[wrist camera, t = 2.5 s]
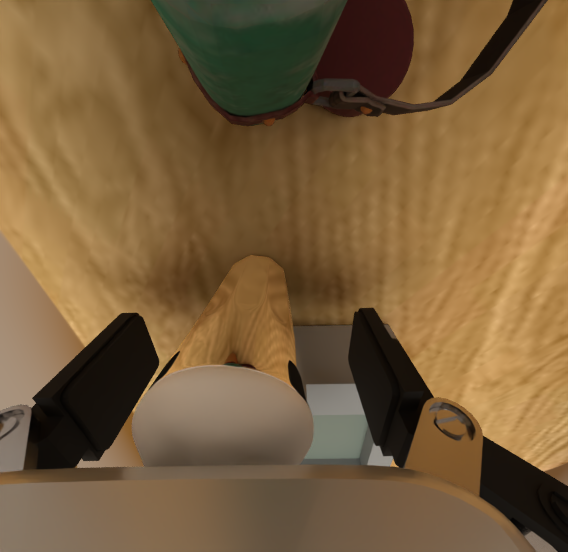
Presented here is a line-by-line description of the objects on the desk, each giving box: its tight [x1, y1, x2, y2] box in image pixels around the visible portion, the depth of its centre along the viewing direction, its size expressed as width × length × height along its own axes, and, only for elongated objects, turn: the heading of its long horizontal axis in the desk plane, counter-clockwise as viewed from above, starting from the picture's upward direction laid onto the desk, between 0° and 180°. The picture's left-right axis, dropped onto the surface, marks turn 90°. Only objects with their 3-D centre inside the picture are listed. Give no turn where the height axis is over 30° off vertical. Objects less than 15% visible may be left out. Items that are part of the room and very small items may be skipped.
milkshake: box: [132, 255, 314, 467], centre depth 9 cm, size 4×5×10 cm
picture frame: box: [293, 324, 398, 466], centre depth 16 cm, size 12×10×4 cm
